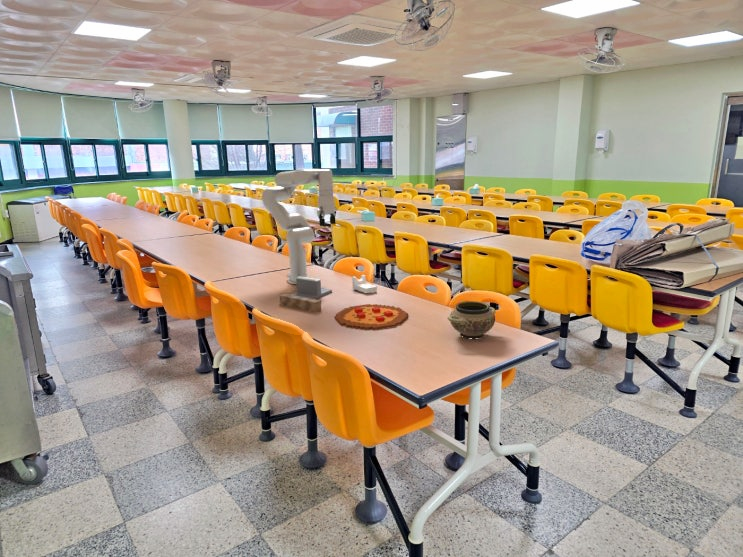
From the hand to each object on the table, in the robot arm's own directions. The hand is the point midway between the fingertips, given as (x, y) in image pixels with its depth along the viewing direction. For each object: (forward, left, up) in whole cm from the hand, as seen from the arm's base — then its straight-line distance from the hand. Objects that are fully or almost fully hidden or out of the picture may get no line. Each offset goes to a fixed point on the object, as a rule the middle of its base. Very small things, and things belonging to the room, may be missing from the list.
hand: (327, 224), depth 263 cm
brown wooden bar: (+8, -36, -36) cm, 51 cm away
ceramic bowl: (+95, -32, -36) cm, 107 cm away
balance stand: (-1, -18, -36) cm, 40 cm away
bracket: (+20, +4, -36) cm, 42 cm away
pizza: (+47, -32, -36) cm, 68 cm away
